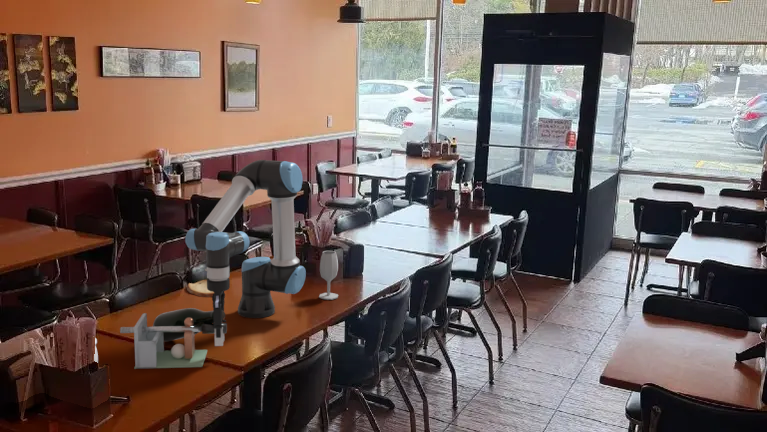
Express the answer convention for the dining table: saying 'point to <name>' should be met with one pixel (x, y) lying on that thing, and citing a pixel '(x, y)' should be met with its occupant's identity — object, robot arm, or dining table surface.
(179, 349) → the ball
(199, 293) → the slice of bread
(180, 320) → the dark wine bottle
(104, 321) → the dining table surface
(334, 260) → the wineglass
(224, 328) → the foosball rod
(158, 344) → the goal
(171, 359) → the pitch mat
